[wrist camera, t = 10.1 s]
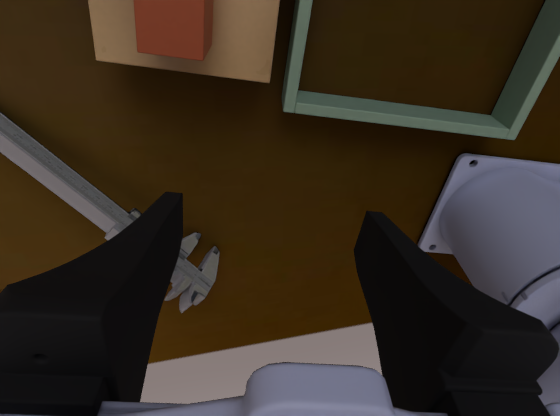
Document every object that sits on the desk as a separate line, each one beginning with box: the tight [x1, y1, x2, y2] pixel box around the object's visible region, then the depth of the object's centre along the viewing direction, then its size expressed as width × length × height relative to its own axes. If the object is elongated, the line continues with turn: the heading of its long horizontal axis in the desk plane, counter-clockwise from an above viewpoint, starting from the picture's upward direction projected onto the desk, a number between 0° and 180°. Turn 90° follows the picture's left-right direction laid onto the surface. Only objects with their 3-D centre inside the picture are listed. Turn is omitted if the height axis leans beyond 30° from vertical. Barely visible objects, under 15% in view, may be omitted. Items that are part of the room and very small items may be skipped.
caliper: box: [0, 112, 220, 313], centre depth 21 cm, size 20×1×6 cm, turn 46°
